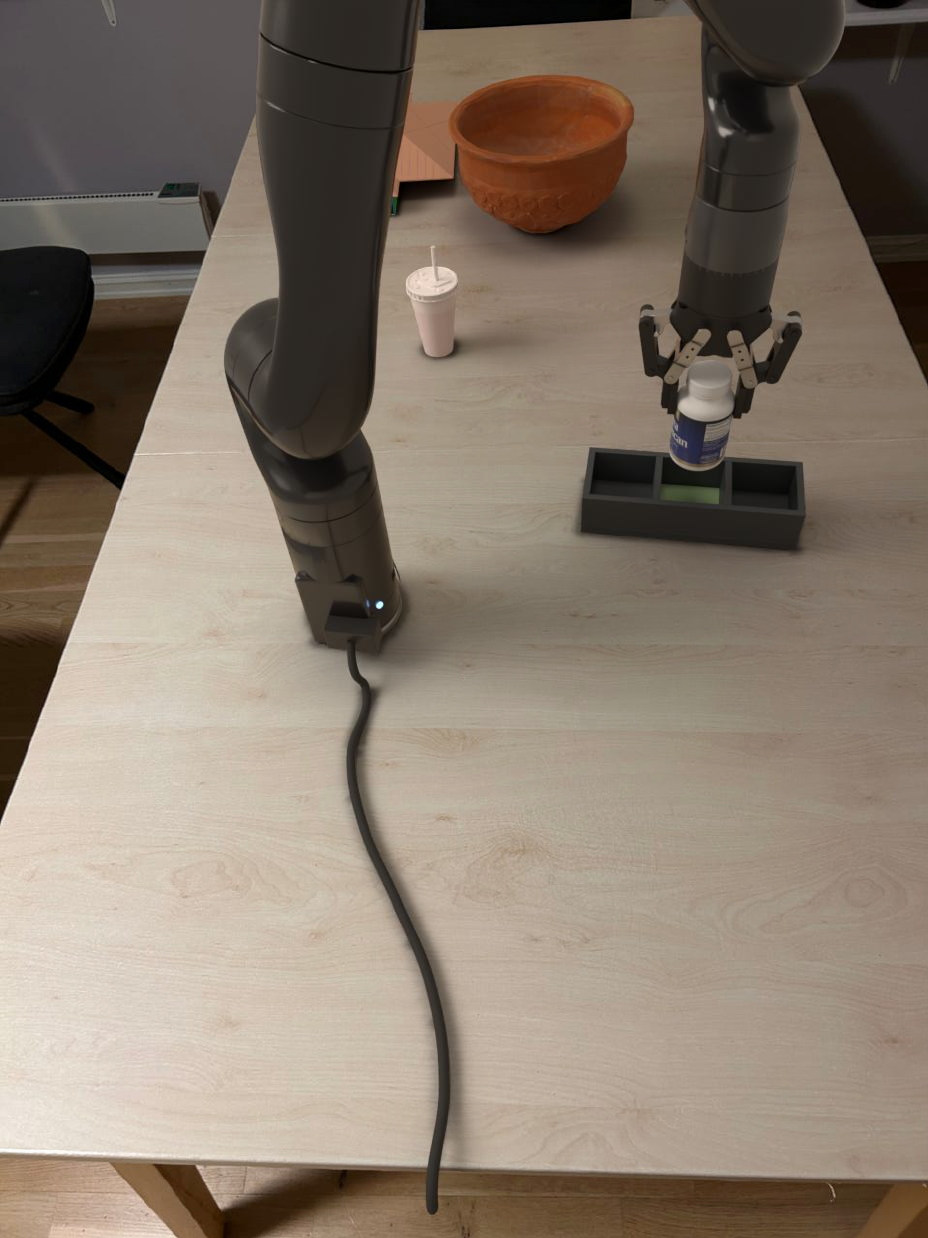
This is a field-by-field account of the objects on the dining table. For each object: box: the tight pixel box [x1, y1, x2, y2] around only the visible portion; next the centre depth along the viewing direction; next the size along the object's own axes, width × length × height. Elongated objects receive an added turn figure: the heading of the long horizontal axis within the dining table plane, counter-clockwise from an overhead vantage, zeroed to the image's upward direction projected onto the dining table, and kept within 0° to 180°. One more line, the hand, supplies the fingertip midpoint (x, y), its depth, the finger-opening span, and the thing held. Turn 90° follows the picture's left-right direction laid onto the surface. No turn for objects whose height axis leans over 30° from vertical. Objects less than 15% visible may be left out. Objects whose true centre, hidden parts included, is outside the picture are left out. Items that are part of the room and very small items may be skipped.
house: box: [390, 92, 459, 216], centre depth 147 cm, size 23×33×8 cm
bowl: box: [448, 74, 635, 234], centre depth 131 cm, size 25×25×15 cm
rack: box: [580, 446, 807, 551], centre depth 97 cm, size 8×22×5 cm, turn 80°
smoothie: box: [405, 245, 460, 358], centre depth 114 cm, size 6×6×14 cm
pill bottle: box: [668, 359, 735, 471], centre depth 88 cm, size 5×5×10 cm
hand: (704, 410), depth 88 cm, fingers closed on pill bottle, 5 cm apart
